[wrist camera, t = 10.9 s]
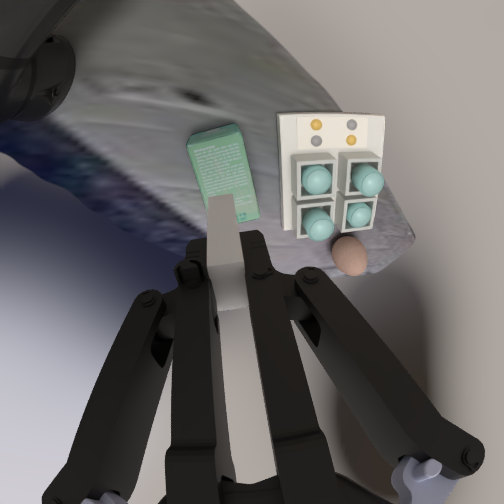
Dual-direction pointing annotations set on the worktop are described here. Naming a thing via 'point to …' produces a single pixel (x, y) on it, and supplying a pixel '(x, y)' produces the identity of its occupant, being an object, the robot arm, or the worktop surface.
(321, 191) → the button
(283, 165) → the board
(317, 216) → the button
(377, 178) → the button
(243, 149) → the box
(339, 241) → the egg
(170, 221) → the worktop surface
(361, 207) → the button
